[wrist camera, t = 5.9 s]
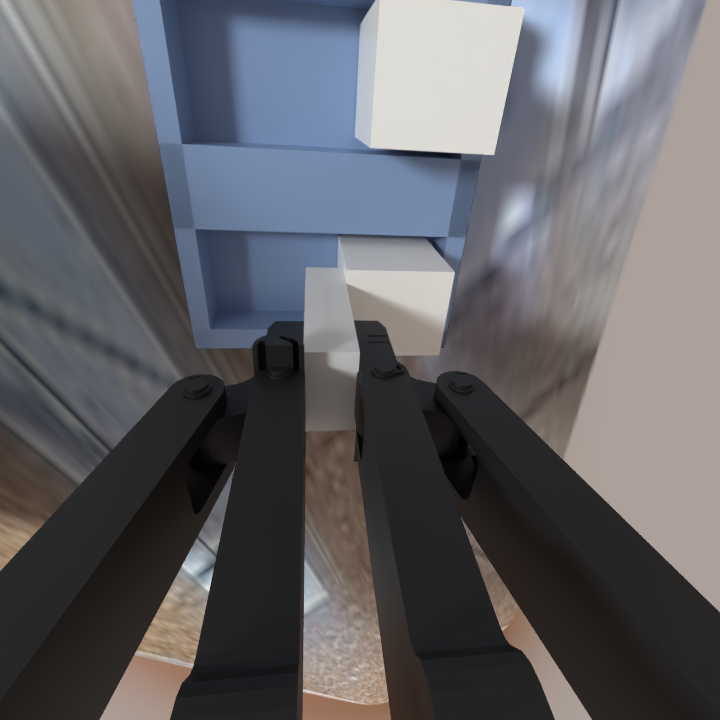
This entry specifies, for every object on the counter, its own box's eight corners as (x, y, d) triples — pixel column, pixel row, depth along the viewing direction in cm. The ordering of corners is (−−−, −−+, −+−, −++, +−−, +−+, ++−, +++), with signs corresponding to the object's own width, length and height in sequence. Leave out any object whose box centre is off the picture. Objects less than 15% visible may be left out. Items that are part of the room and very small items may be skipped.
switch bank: (209, 318, 22) (194, 350, 19) (154, -43, 14) (115, -79, 11) (428, 319, 23) (444, 349, 20) (482, -7, 16) (520, -31, 13)
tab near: (354, 136, 17) (370, 147, 12) (360, 24, 15) (380, -8, 11) (448, 142, 17) (494, 155, 13) (465, 34, 15) (525, 7, 11)
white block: (336, 304, 21) (343, 356, 16) (338, 232, 19) (346, 269, 14) (413, 305, 21) (439, 355, 17) (422, 235, 19) (454, 272, 15)
